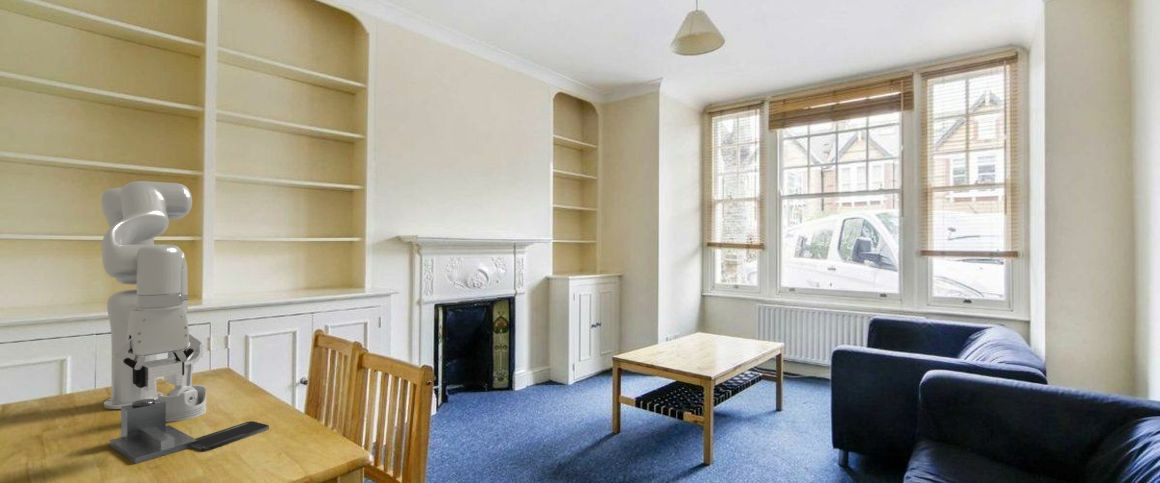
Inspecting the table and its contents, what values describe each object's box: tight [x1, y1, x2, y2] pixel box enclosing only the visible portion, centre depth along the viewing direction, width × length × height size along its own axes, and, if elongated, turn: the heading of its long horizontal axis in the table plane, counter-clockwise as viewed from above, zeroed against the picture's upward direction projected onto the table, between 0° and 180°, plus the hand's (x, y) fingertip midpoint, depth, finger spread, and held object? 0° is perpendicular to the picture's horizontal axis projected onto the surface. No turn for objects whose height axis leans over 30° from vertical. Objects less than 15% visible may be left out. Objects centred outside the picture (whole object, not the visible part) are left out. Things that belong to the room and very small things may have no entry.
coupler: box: [108, 399, 198, 465], centre depth 115 cm, size 16×11×9 cm
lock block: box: [142, 357, 182, 391], centre depth 113 cm, size 6×7×5 cm
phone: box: [190, 420, 270, 452], centre depth 120 cm, size 8×1×15 cm
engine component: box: [158, 336, 207, 423], centre depth 134 cm, size 11×20×10 cm
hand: (159, 382), depth 113 cm, fingers closed on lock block, 6 cm apart
